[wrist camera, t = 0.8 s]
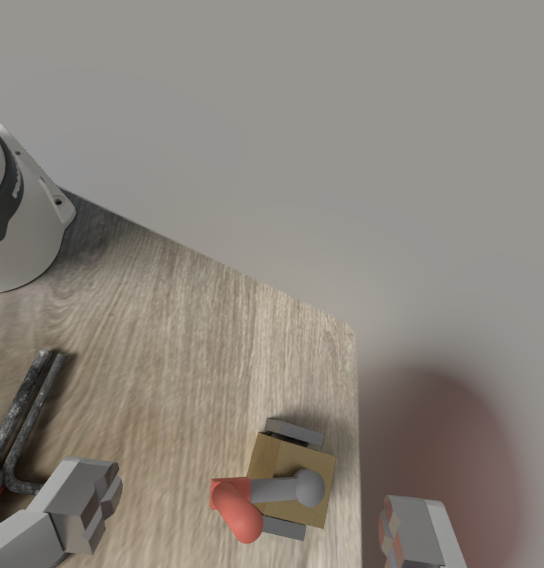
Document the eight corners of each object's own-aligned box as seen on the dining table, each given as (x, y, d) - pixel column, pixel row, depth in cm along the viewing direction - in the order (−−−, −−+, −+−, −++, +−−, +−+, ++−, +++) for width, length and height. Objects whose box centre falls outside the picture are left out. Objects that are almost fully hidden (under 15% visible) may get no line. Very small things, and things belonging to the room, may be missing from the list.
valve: (33, 645, 32) (-176, 650, 27) (136, 377, 43) (3, 340, 38) (25, 694, 27) (-237, 712, 21) (145, 374, 38) (-8, 331, 32)
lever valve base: (262, 416, 44) (287, 421, 37) (308, 431, 46) (341, 438, 38) (236, 512, 40) (259, 539, 32) (288, 524, 42) (321, 553, 34)
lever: (317, 467, 36) (371, 489, 28) (318, 501, 35) (373, 535, 27) (210, 473, 32) (235, 500, 24) (207, 511, 31) (232, 554, 23)
